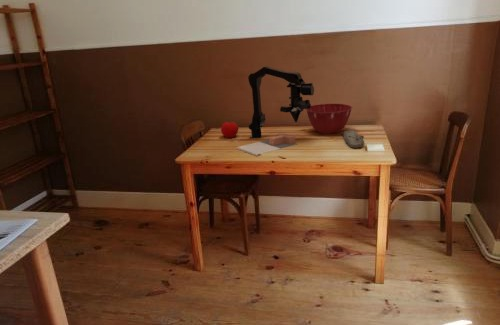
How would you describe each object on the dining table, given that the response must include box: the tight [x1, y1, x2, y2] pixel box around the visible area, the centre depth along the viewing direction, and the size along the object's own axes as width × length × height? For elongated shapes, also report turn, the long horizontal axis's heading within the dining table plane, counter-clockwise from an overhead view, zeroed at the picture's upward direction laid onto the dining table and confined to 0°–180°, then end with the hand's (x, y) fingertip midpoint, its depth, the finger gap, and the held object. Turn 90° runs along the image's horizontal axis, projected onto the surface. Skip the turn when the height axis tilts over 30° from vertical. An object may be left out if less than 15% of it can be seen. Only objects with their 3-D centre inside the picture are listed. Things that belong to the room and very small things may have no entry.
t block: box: [268, 132, 296, 146], centre depth 221 cm, size 12×12×4 cm
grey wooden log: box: [342, 129, 365, 149], centre depth 222 cm, size 35×5×10 cm
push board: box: [236, 139, 298, 157], centre depth 219 cm, size 20×29×1 cm
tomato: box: [220, 120, 239, 139], centre depth 246 cm, size 11×13×10 cm
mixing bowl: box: [305, 103, 353, 135], centre depth 243 cm, size 28×28×16 cm
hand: (296, 121), depth 225 cm, fingers closed
